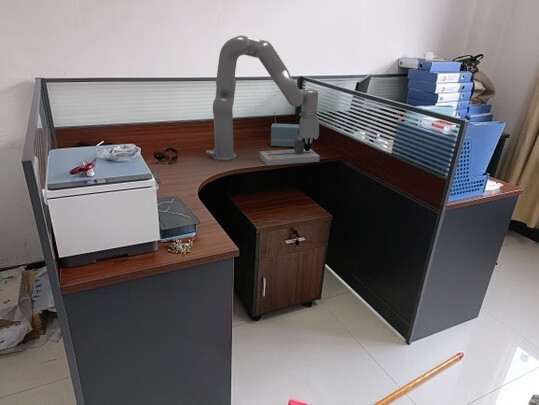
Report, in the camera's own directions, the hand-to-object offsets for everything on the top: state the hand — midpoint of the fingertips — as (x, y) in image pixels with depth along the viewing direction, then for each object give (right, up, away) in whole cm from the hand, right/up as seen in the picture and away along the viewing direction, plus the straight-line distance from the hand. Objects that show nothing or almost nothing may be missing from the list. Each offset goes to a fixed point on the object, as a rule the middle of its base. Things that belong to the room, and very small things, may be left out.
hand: (307, 150), depth 203 cm
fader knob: (-4, -1, -1) cm, 5 cm away
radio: (-11, +6, +23) cm, 26 cm away
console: (-9, -5, -1) cm, 11 cm away
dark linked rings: (-71, -7, -8) cm, 72 cm away
